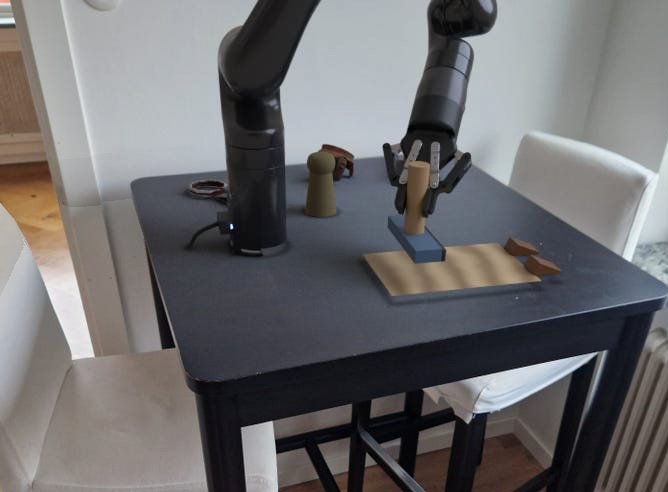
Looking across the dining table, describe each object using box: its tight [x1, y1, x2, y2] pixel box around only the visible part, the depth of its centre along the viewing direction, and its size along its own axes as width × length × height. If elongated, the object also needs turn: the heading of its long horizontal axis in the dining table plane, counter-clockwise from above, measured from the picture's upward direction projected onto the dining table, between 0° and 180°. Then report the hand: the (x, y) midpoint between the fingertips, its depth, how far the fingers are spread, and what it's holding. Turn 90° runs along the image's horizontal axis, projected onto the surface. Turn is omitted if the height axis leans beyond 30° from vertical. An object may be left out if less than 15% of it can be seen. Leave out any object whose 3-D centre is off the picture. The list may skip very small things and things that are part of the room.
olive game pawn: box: [304, 151, 337, 218], centre depth 126 cm, size 6×6×11 cm
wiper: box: [387, 161, 446, 264], centre depth 99 cm, size 5×14×12 cm, turn 13°
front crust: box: [523, 255, 563, 277], centre depth 106 cm, size 4×3×2 cm
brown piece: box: [308, 143, 355, 183], centre depth 143 cm, size 12×10×8 cm
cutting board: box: [361, 242, 542, 297], centre depth 106 cm, size 24×15×2 cm, turn 106°
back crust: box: [503, 236, 540, 257], centre depth 112 cm, size 4×3×2 cm
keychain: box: [188, 179, 228, 204], centre depth 132 cm, size 8×19×2 cm, turn 55°
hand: (412, 213), depth 97 cm, fingers closed on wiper, 3 cm apart
